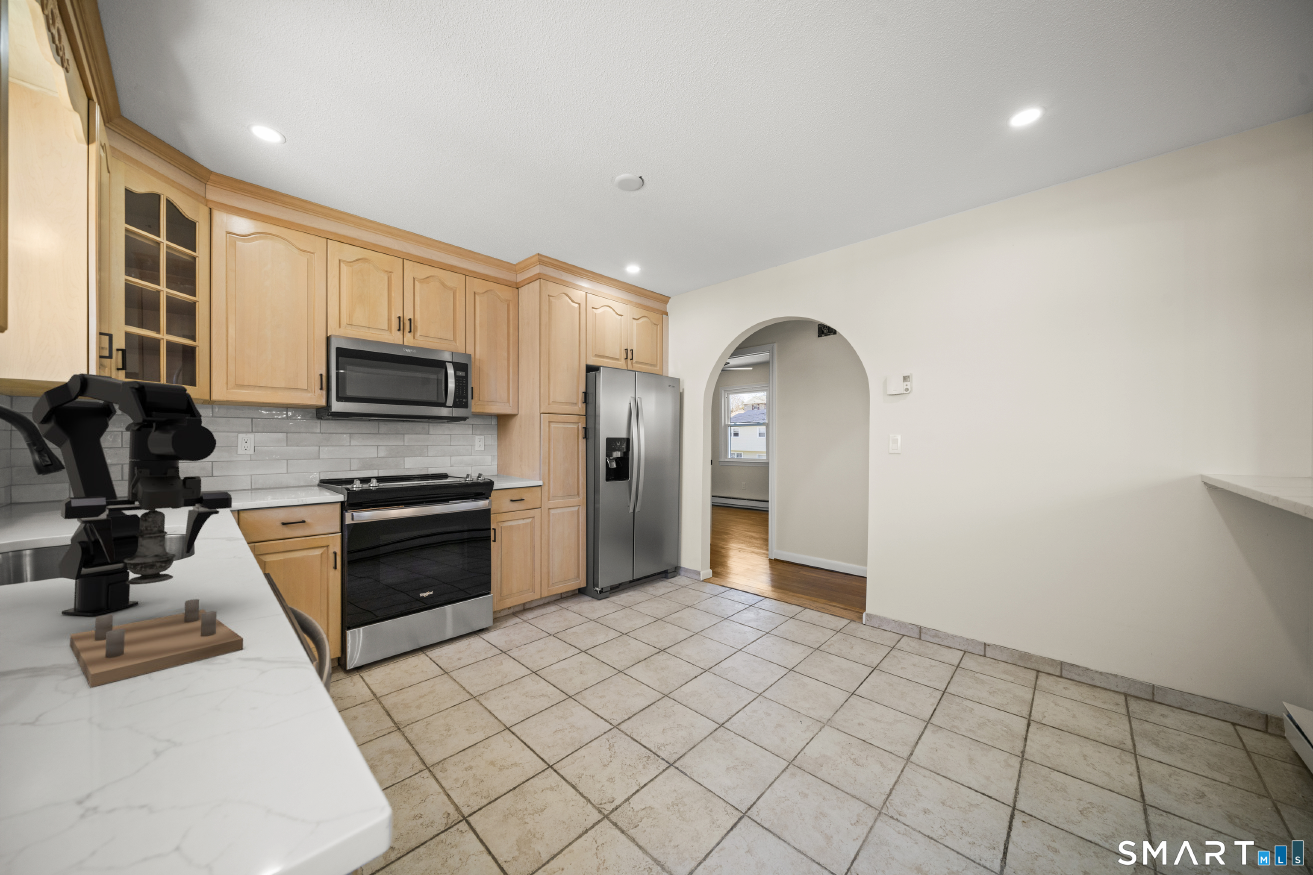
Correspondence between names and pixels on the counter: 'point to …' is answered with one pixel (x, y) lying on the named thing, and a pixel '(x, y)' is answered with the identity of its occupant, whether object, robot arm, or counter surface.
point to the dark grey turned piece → (150, 551)
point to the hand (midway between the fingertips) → (150, 557)
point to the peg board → (151, 644)
